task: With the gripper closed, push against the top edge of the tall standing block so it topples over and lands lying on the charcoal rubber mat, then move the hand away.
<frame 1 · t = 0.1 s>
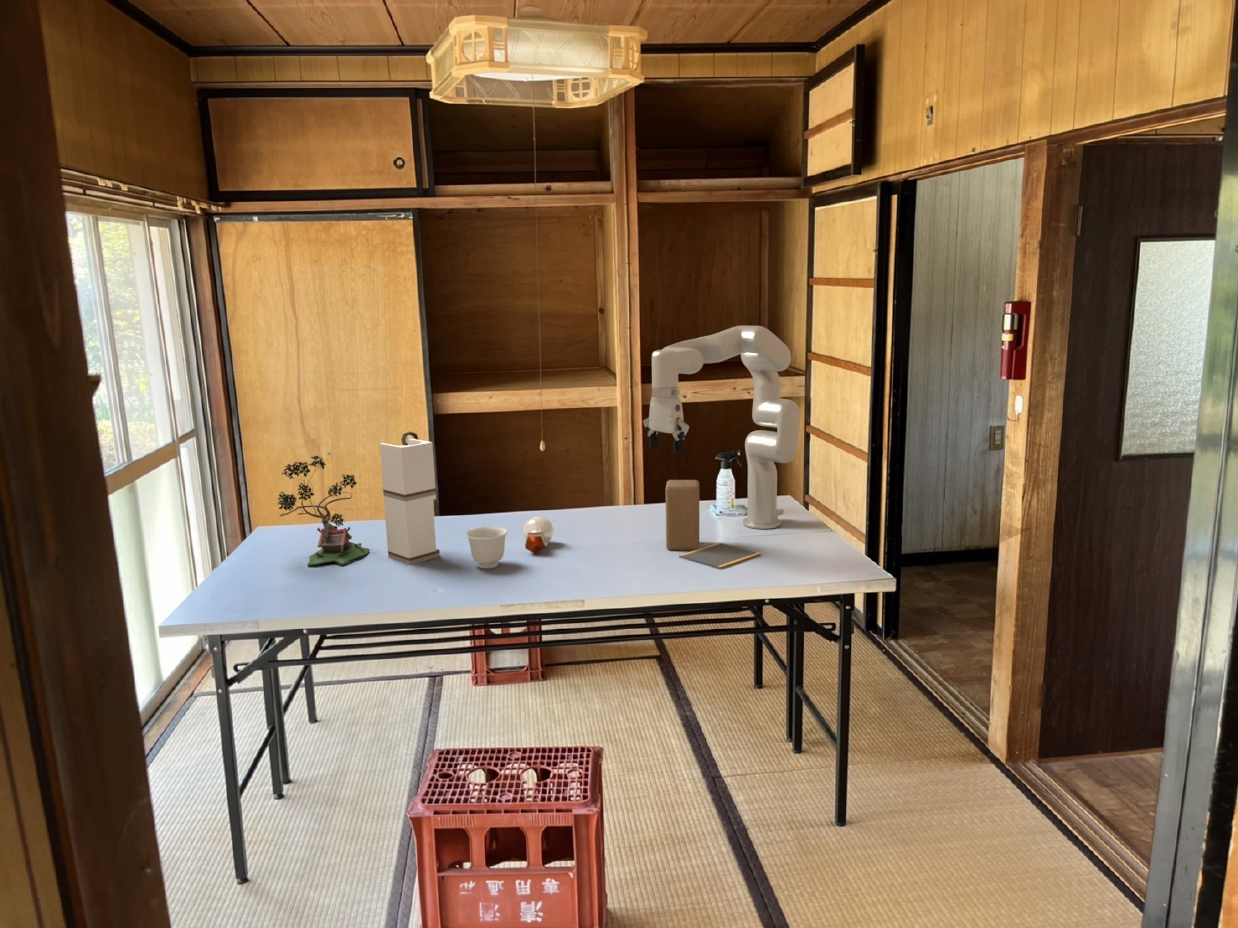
hand: (665, 451, 253), 31 cm above the table, tool pointing down, fingers open, 9 cm apart
teacup: (485, 565, 253), on the table
bonsai tree: (321, 562, 259), on the table
block: (683, 546, 266), on the table
mat: (719, 556, 255), on the table
white banded pillar: (414, 557, 261), on the table
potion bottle: (538, 548, 268), on the table
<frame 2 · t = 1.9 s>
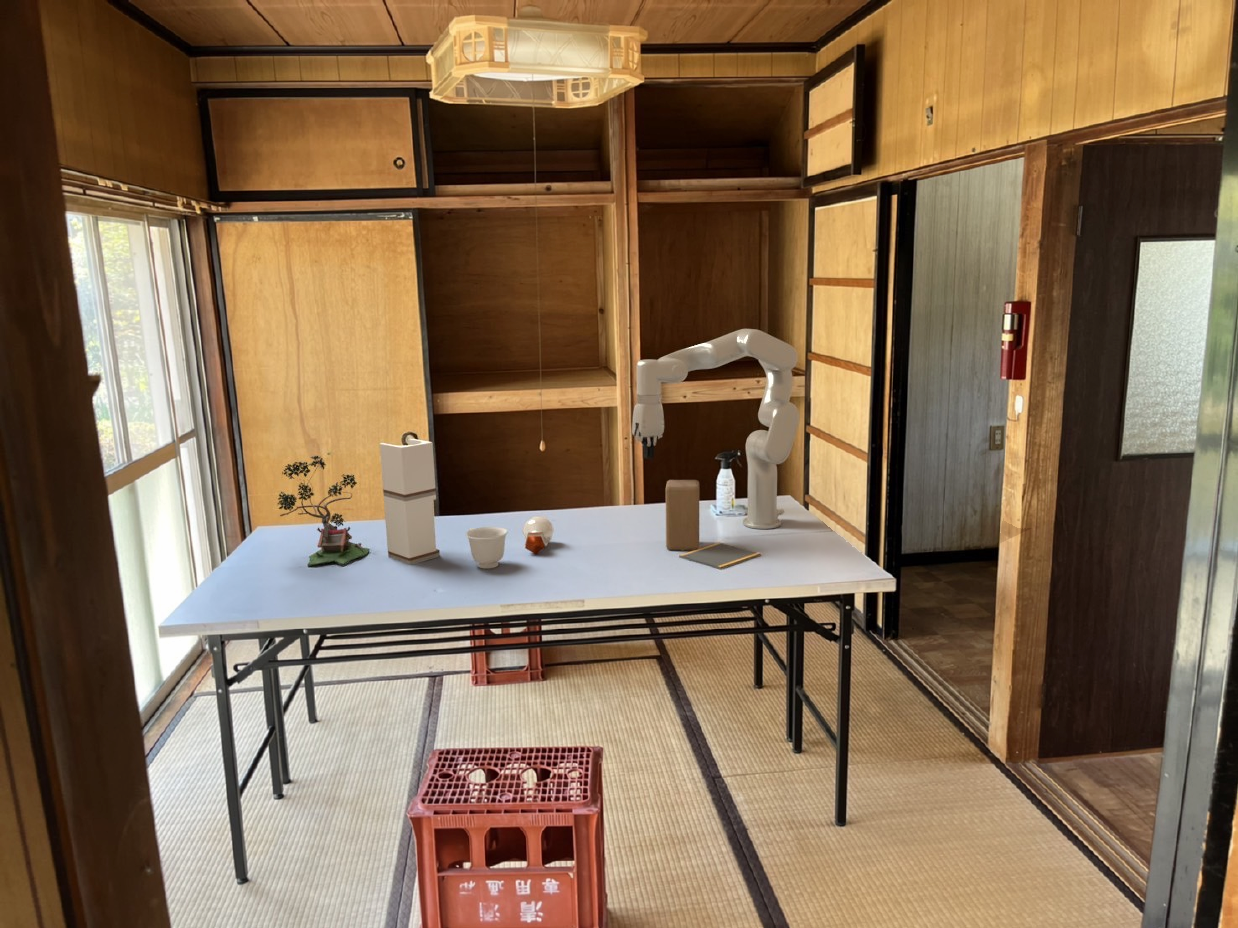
hand: (649, 457, 271), 26 cm above the table, tool pointing down, fingers closed
nothing on the table moved.
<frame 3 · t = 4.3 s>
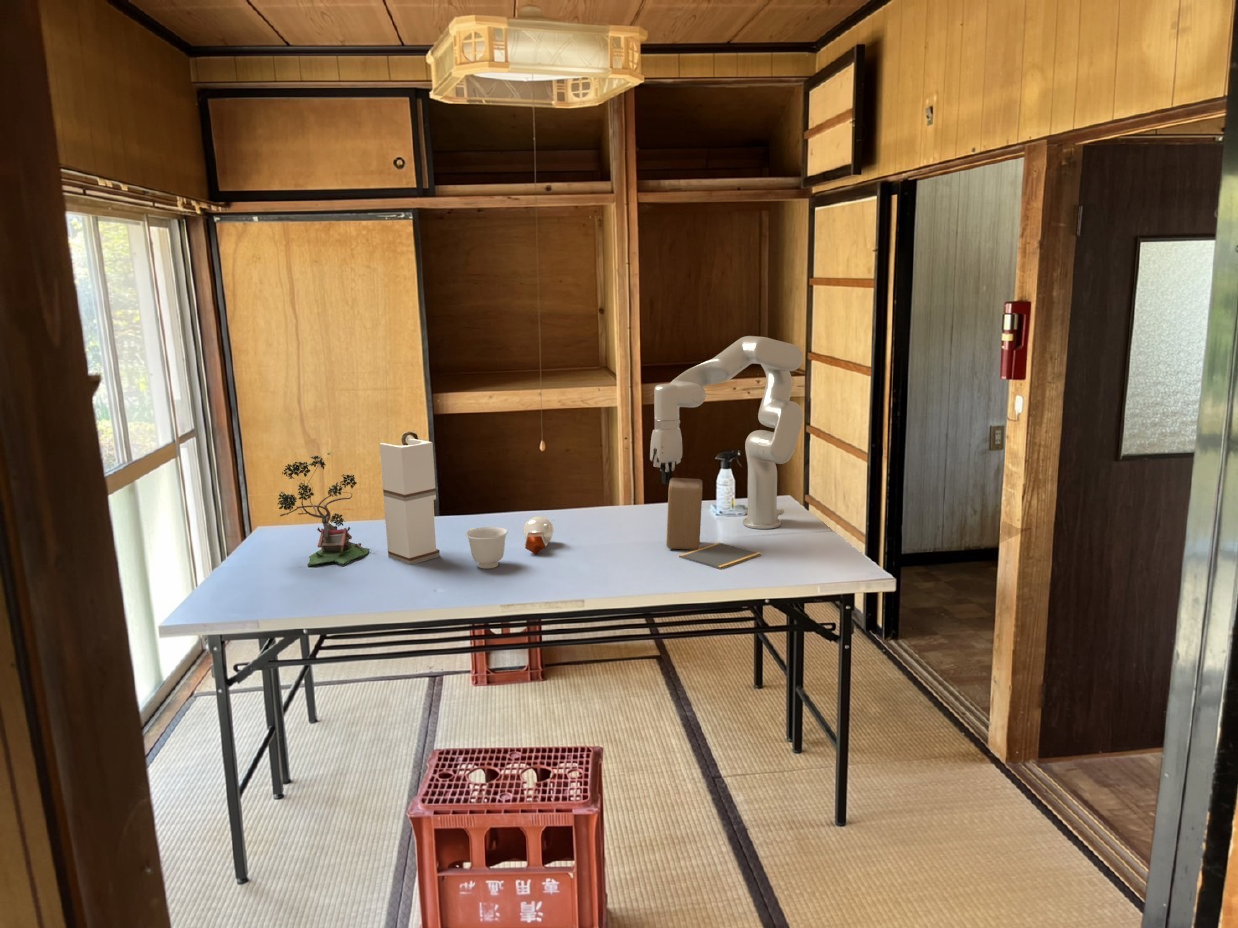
hand: (667, 483, 267), 19 cm above the table, tool pointing down, fingers closed
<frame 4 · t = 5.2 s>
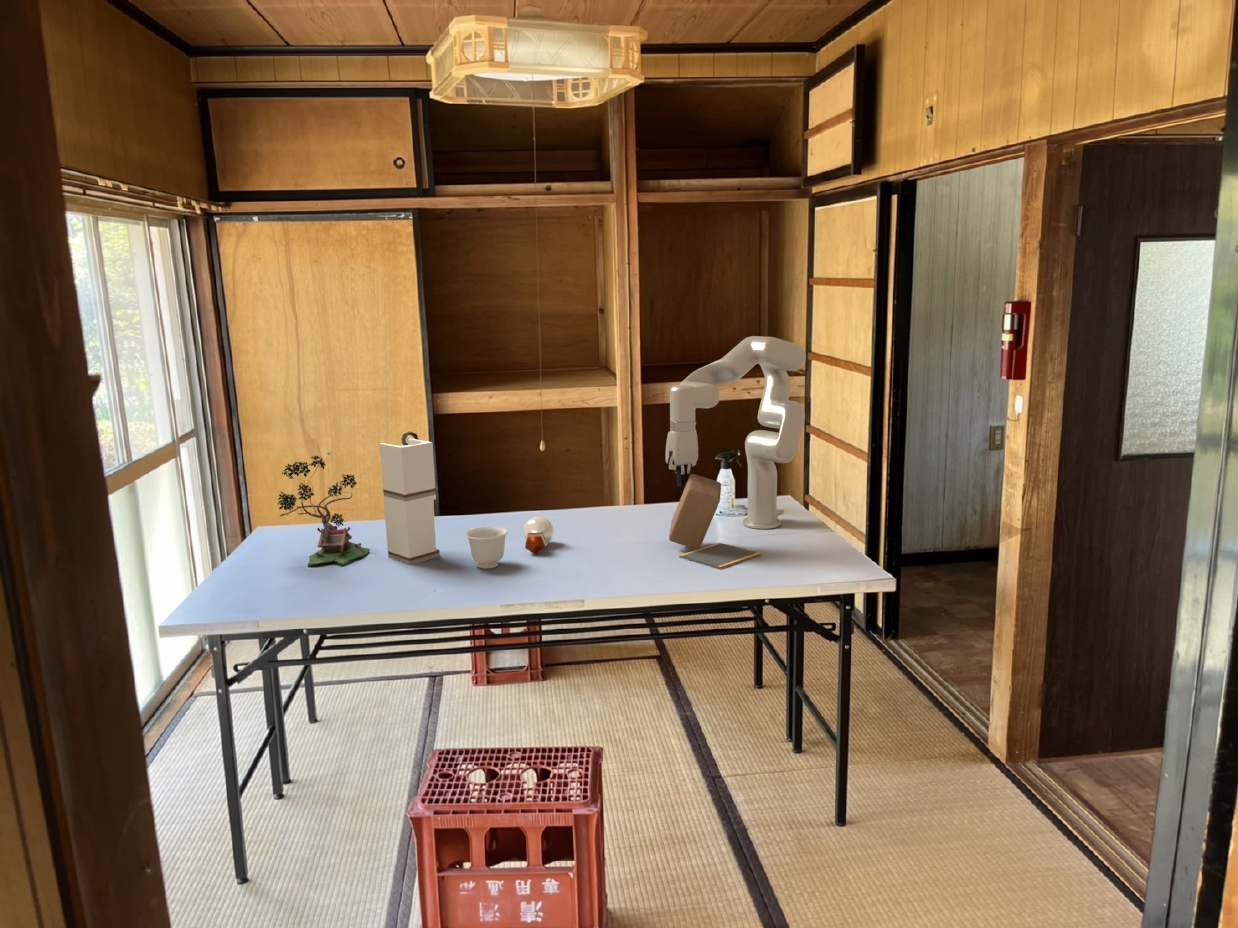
hand: (682, 486, 262), 19 cm above the table, tool pointing down, fingers closed
block: (684, 537, 265), point 3 cm above the table
everything else where it was.
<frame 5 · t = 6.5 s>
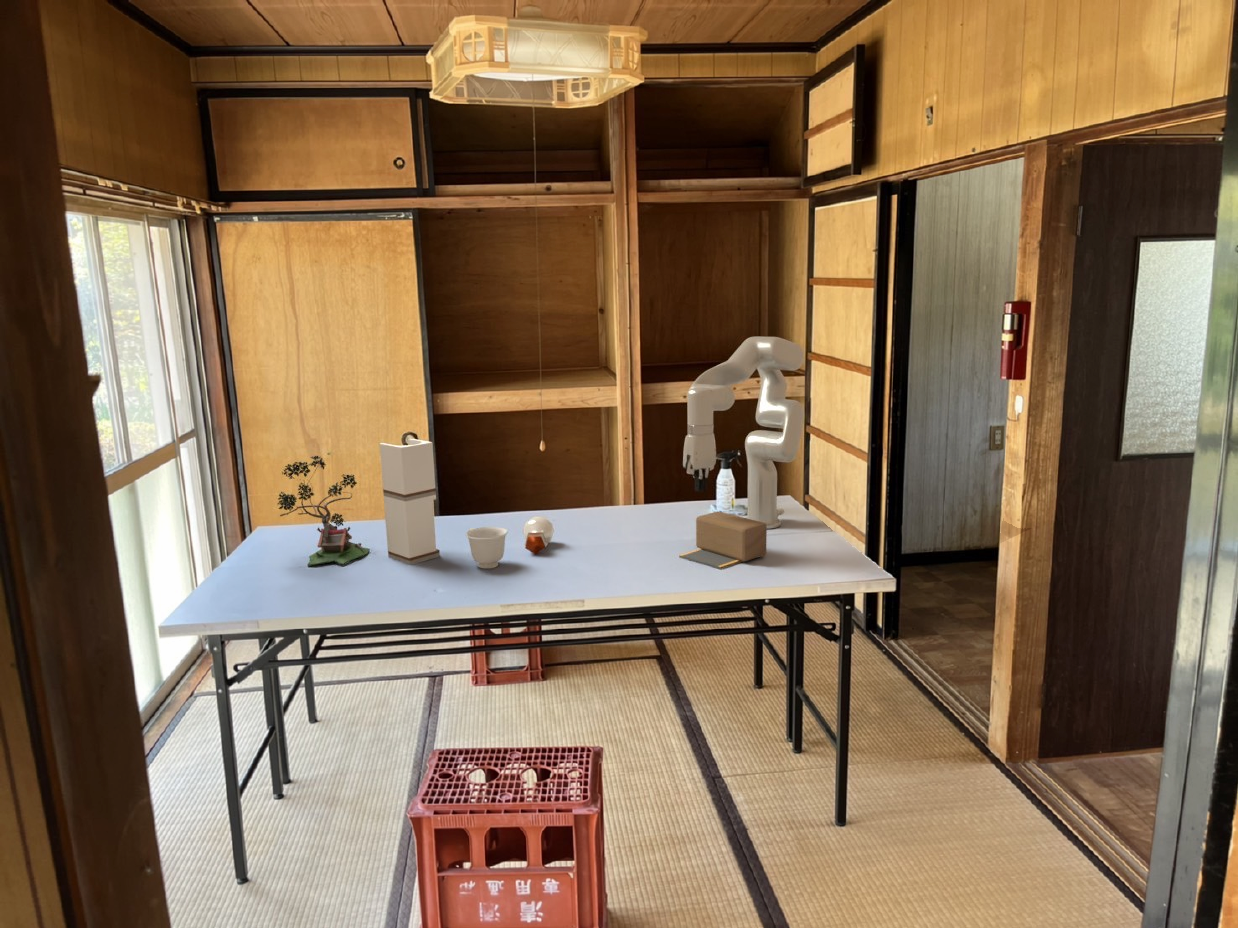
hand: (700, 490, 257), 19 cm above the table, tool pointing down, fingers closed
block: (705, 528, 264), point 6 cm above the table, touching mat
everything else where it was.
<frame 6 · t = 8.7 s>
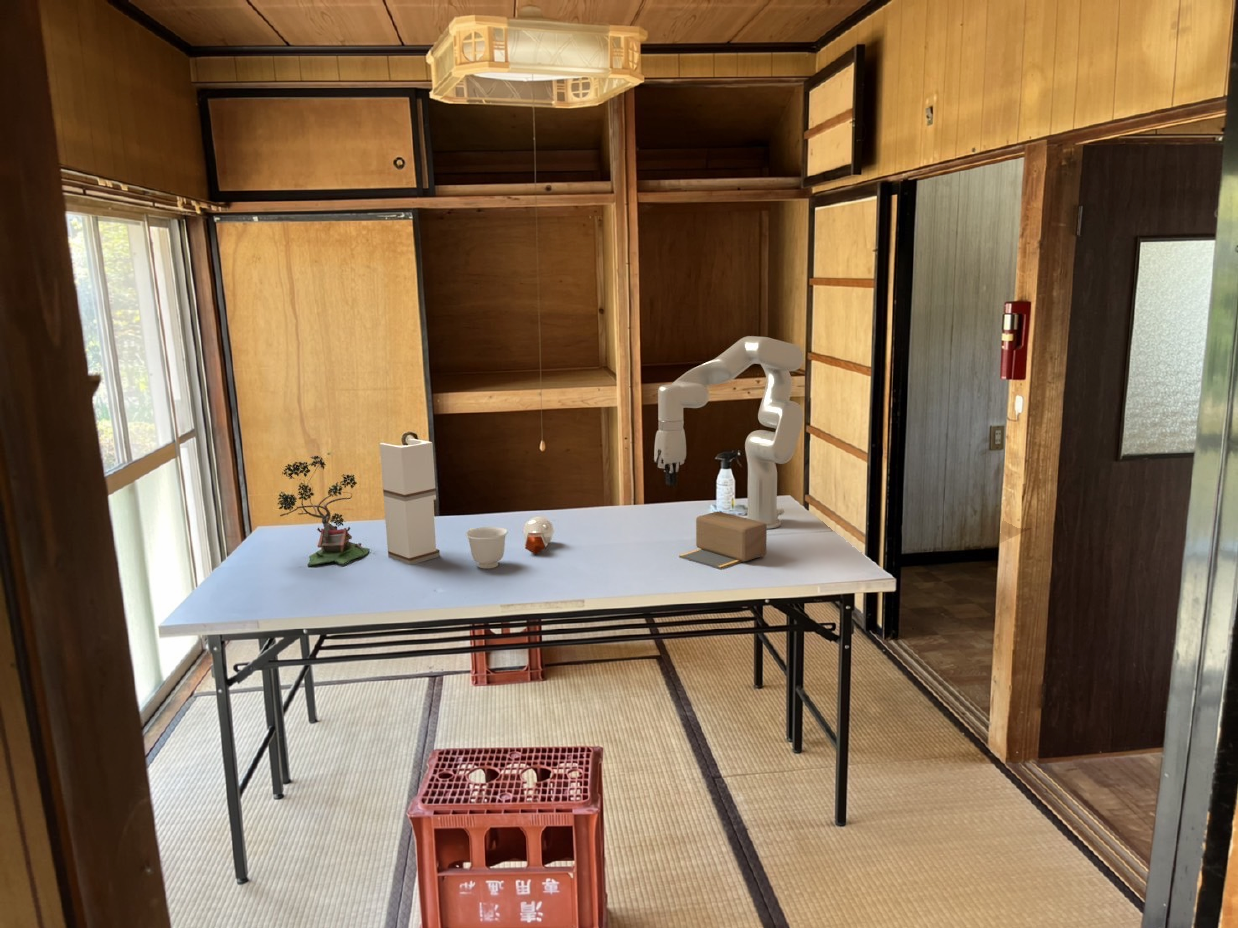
hand: (671, 484, 266), 19 cm above the table, tool pointing down, fingers closed
nothing on the table moved.
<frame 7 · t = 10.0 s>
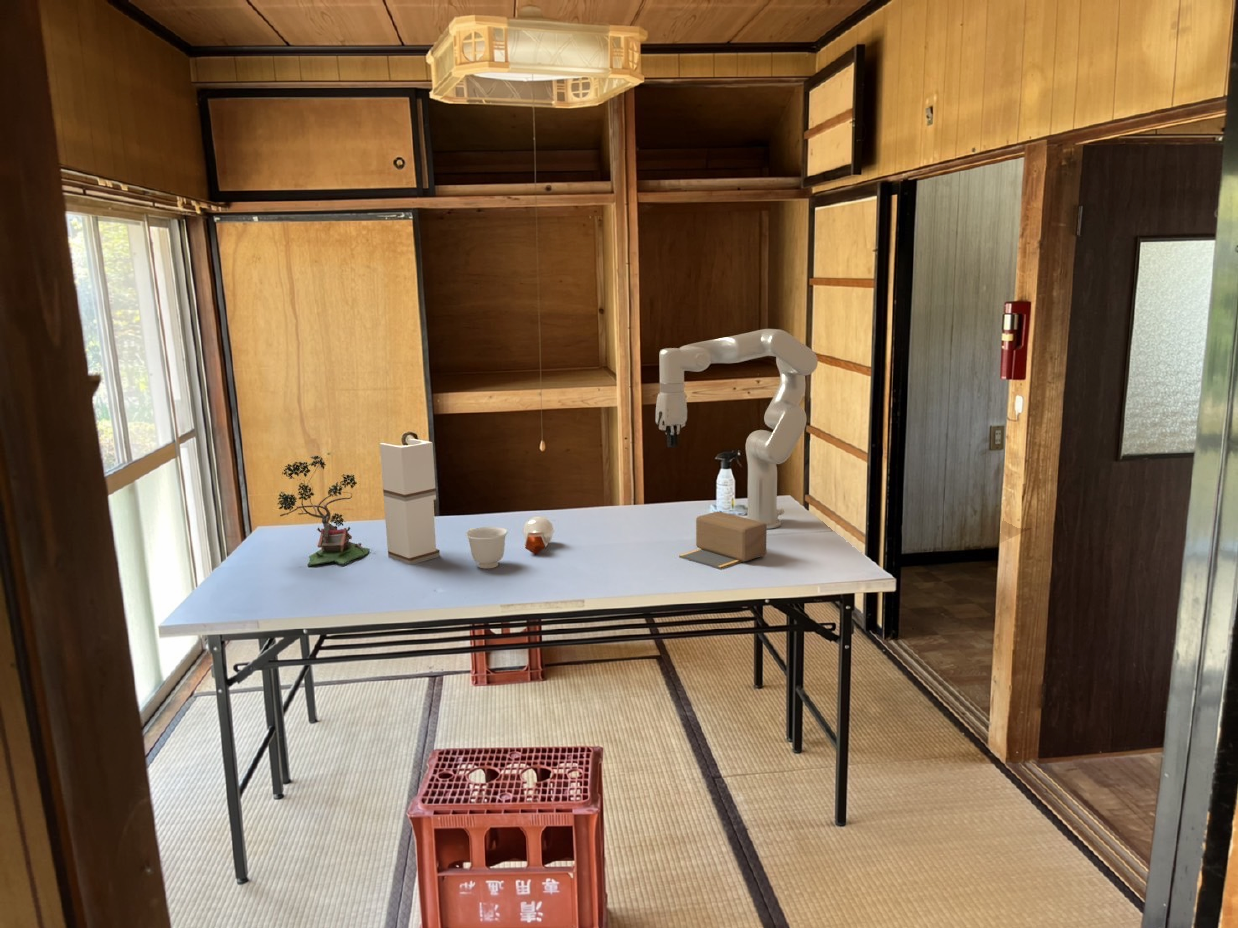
hand: (672, 446, 272), 29 cm above the table, tool pointing down, fingers closed
nothing on the table moved.
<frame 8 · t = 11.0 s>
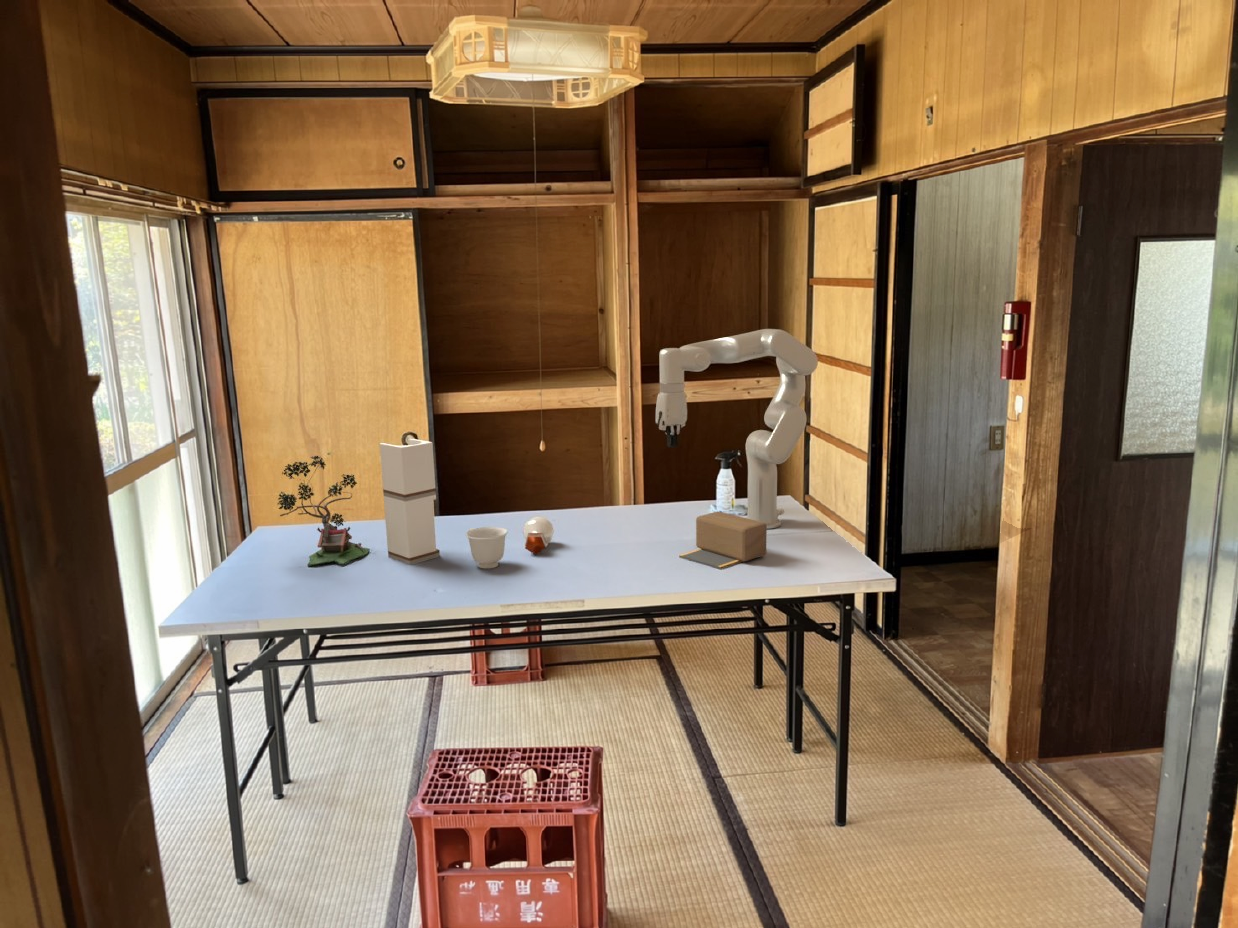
hand: (672, 446, 272), 29 cm above the table, tool pointing down, fingers closed
nothing on the table moved.
at the end: block tilted 90°; block inside the target area (10.0 cm from its centre), point 5.6 cm above the table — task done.
